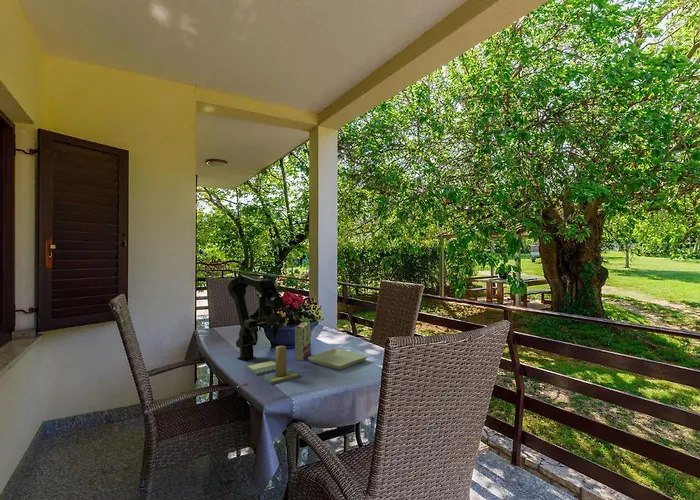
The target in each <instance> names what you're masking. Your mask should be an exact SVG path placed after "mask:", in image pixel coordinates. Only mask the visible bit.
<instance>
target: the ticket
mask: <svg viewBox="0 0 700 500" xmlns="http://www.w3.org/2000/svg"><path fill="white" fill-rule="evenodd" d="M245 369H246V371H248V372H250V373H251V374H253V375H255V376H261V375H264V374H268V373H269V374H270V373H273V372H276V360H273V359H272V360H267V361H262V362H258V363H253V364H248V365H244V370H245Z"/></svg>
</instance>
